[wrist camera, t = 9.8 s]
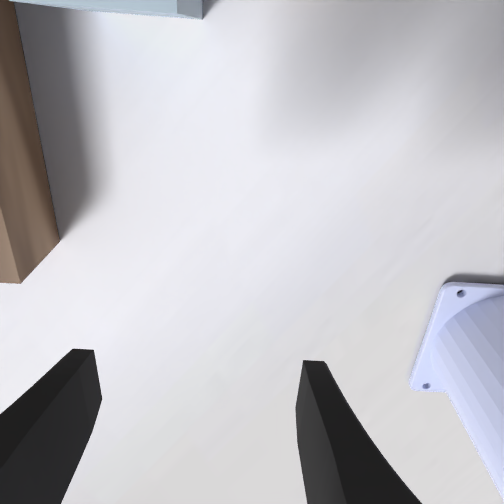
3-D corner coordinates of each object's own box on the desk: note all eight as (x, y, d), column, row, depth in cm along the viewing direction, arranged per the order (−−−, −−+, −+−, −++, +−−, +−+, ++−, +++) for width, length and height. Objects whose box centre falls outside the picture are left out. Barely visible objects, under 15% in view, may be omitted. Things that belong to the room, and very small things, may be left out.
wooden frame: (353, -296, 12) (393, -430, 9) (288, 254, 21) (294, 298, 18) (-120, -337, 12) (-280, -494, 8) (21, 239, 21) (-27, 281, 17)
